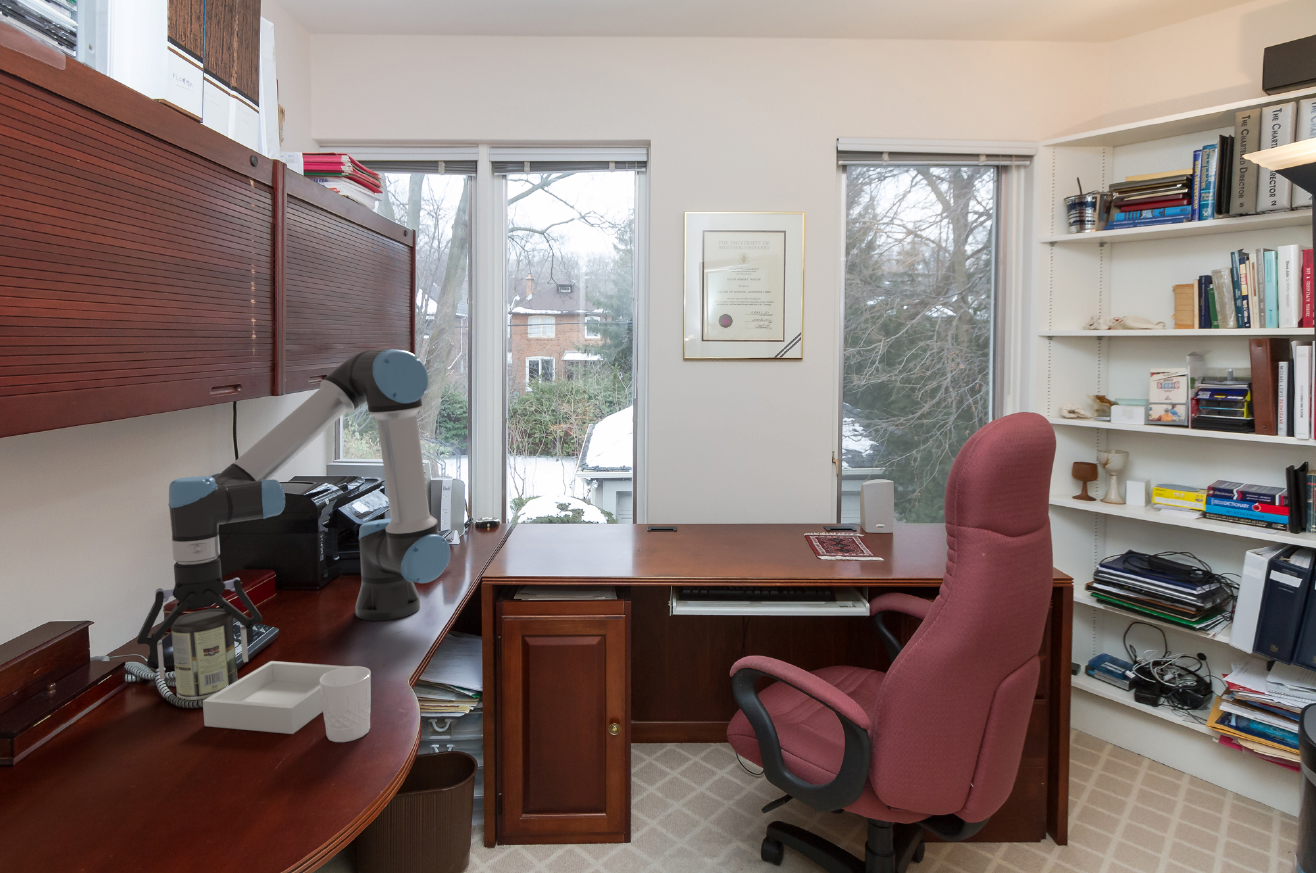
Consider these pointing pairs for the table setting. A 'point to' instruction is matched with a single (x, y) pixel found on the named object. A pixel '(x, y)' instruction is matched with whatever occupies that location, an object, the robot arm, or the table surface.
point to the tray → (269, 698)
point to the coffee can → (203, 653)
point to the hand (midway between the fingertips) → (204, 668)
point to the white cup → (346, 702)
